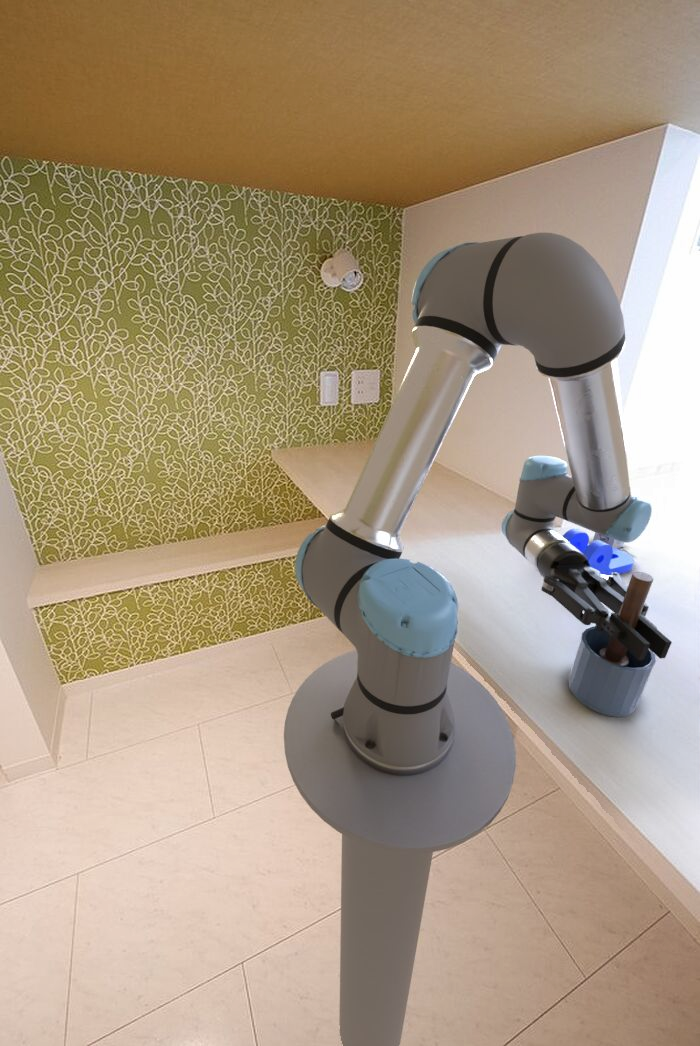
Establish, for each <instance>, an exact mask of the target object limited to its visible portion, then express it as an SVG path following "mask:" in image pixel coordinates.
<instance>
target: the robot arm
mask: <svg viewBox="0 0 700 1046" xmlns="http://www.w3.org/2000/svg"><path fill="white" fill-rule="evenodd" d="M411 305H413V310H412V311H411V314H412V319H413V322H414V327H413V329H412V331H411V336H412V341H413V342H414V346H415V353H414V355H412V356H413V357H412V359H411V361H410V364H409V366H408V367H407V370H406V372H405V375H404V377H403V379H402V381H401V383H400V386H399V388H398V389H397V391H396V395H395V396H394V399H393V401H392V404H391V405H390V408H389V410H388V412H387V415H386V417H385V419H384V421H383V423H382V425H381V428H380V430H379V433H378V435H377V437H376V439H375V441H374V443H373V446H372V447H371V450H370V452H369V454H368V457H367V459H366V461H365V464H364V466H363V468H362V470H361V472H360V474H359V477H358V479H357V481H356V483H355V486H354V488H353V490H352V491H351V492H352V493H351V495H350V497H349V500H348V501H347V504H346V506H345V508H344V509H342V510H340V511H339V510H338V511H337V512H335V513H332V514H330V516H329V518H328V520H327V523H326V524H324V525H321V526H319V527H317V528H316V529H315V531H314V532H310V533H309V534H308V535H307V536H306V537H305V538H304V539H303V541H302V543H301V544H300V546H299V548H298V551H297V552H296V556H295V563H294V573H295V578H296V580H297V583H298V585H299V587H300V588H301V590H302V591H303V592H304V594H305V595H306V598H307V599H308V601H309V602H310V603H311V604H312V605H313V606H314V607H317V608H318V610H319V611H320V612H321V613H322V614H323V615H324V616H325V617H326V618H327V619H328V620H329V621H330V622H331V623H332V624H333V626H334V627H335V628H337V630H338V631H339V632H341V633H342V635H343V636H344V637H345V638H346V639H347V640H348V641H349V642H350V643H351V644H352V645H353V647H354V648H355V650H357V653H358V665H357V677H356V680H355V682H354V684H353V686H352V688H351V690H350V692H349V694H348V696H347V698H346V701H345V704H344V707H343V708H341V709H339V710H336V711H334V712H332V713H331V717H332V719H333V720H334V719H336V718H338V717H341V716H343V731H344V735H345V738H346V741H347V743H348V745H349V746H350V748H351V749H352V751H353V752H354V753H355V754H356V756H357V757H358V758H360V759H361V760H362V761H363V762H364V763H366V764H367V765H369V766H370V767H372V768H374V769H376V770H379V771H381V772H384V773H387V774H392V775H399V776H409V775H417V774H420V773H424V772H426V771H429V770H431V769H433V768H434V767H436V766H437V765H438V764H440V763H441V762H442V761H443V760H444V759H445V757H446V756H447V755H448V753H449V751H450V749H451V746H452V743H453V738H454V731H455V721H454V714H453V711H452V707H451V702H450V699H449V696H448V692H447V682H448V676H449V671H450V665H451V662H452V658H453V652H454V648H455V641H456V637H457V633H458V624H459V619H458V609H459V605H458V598H457V594H456V591H455V589H454V587H453V586H452V583H450V581H449V580H448V579H447V578H446V577H445V576H444V574H442V573H441V572H439V571H438V570H436V569H435V568H433V567H431V566H430V565H428V564H425V563H422V562H421V561H417V562H415V563H413V562H412V561H411V560H410V559H407V558H401V556H402V554H403V552H404V549H405V547H404V545H403V542H402V538H401V531H402V529H403V527H404V525H405V523H406V520H407V519H408V516H409V514H410V512H411V510H412V508H413V506H414V504H415V502H416V499H417V498H418V496H419V493H420V491H421V489H422V487H423V485H424V483H425V481H426V478H427V477H428V474H429V472H430V470H431V467H432V465H433V463H434V461H435V459H436V457H437V455H438V453H439V451H440V449H441V447H442V445H443V443H444V440H445V438H446V437H447V434H448V432H449V430H450V427H451V425H452V424H453V421H454V419H455V417H456V415H457V413H458V411H459V408H460V407H461V405H462V402H463V400H464V399H465V396H466V394H467V392H468V390H469V387H470V385H471V384H472V381H473V380H474V377H475V376H476V375H477V374H480V373H482V372H484V371H488V370H489V369H490V368H491V367H492V366H493V364H494V362H495V360H496V358H497V356H498V355H499V351H500V349H501V347H502V346H503V345H504V346H519V347H523V348H524V349H526V350H528V351H529V352H530V353H531V355H532V356H533V358H534V362H535V366H536V369H537V371H538V373H539V374H541V375H542V376H543V377H545V378H548V381H549V385H550V390H551V394H552V398H553V402H554V406H555V410H556V415H557V419H558V420H557V421H558V422H559V423H558V424H559V429H560V432H561V436H562V441H563V444H564V448H565V453H566V457H567V461H568V463H567V462H566V461H565V460H562V459H561V458H559V457H555V456H548V455H534V456H530V457H528V458H527V459H525V461H524V463H523V467H522V471H521V474H520V477H519V483H518V488H517V495H516V500H515V505H514V509H511V510H510V511H509V512H508V513H507V514H506V516H504V518H503V519H502V521H501V532H502V535H503V536H504V537H505V538H506V540H507V542H508V543H509V545H511V546H512V547H513V548H514V549H515V550H516V551H517V552H519V554H521V555H522V556H523V557H524V558H525V560H526V561H527V562H528V563H529V564H530V565H531V566H532V567H533V568H534V569H535V570H536V571H537V572H538V573H539V574H540V576H541V577H542V578H543V581H542V583H541V584H542V585H541V588H540V589H541V591H542V592H543V593H545V594H547V595H549V596H551V597H552V598H553V599H555V601H556V602H558V604H560V605H561V606H562V607H563V608H564V609H566V610H567V612H569V613H570V614H571V615H572V616H574V617H575V619H577V620H578V621H579V622H580V623H582V624H583V625H585V626H590V625H591V624H595V625H594V626H595V629H596V630H597V631H603V630H604V629H605V631H606V632H608V634H610V636H611V637H613V638H614V639H616V640H619V641H620V642H621V643H622V644H623V645H624V646H625V647H626V648H627V649H628V650H629V651H630V652H631V653H632V654H633V655H634V656H635V657H636V658H637V659H638V660H644V658H645V655H646V653H647V650H648V648H649V649H650V650H651V651H652V652H653V653H654V654H655V656H657V658H658V659H666V657H667V655H668V653H669V650H670V648H671V645H672V643H673V642H672V641H671V640H670V639H669V637H667V636H666V635H665V634H663V633H662V632H661V631H660V630H658V628H657V626H656V625H655V624H654V623H653V622H652V621H651V620H649V619H648V618H647V617H646V616H647V614H648V610H649V605H648V604H647V603H646V602H645V603H644V606H643V609H642V611H641V614H640V617H639V619H638V622H637V625H636V627H635V630H634V629H633V628H632V627H631V626H630V625H629V624H628V623H627V622H626V621H625V620H624V619H622V618H621V617H620V616H619V615H618V614H619V611H620V608H621V605H622V603H623V600H624V597H625V594H626V591H627V588H628V585H627V584H626V583H625V582H624V581H623V580H622V577H621V574H618V573H616V572H612V573H611V575H609V576H608V575H602V574H601V573H600V572H599V571H598V570H596V569H594V568H592V567H590V565H589V562H588V560H587V558H586V556H585V555H584V554H583V553H582V552H580V551H579V550H578V549H577V548H576V547H574V546H573V545H572V544H571V543H570V542H569V541H567V540H566V539H565V538H564V537H562V536H563V535H561V534H560V533H559V532H558V531H556V530H555V529H554V528H553V527H554V523H555V520H556V518H558V519H562V520H564V521H566V522H568V523H571V524H574V525H576V526H579V527H580V528H583V529H586V530H588V531H591V532H592V533H593V532H594V533H595V532H596V533H598V534H601V535H603V536H604V537H609V538H612V539H615V540H618V541H621V542H624V544H625V543H627V544H629V543H632V542H634V541H635V540H637V539H638V538H639V537H640V536H641V535H642V534H643V532H644V531H645V530H646V528H647V526H648V525H649V522H650V520H651V516H652V511H653V510H652V505H651V503H650V502H649V501H648V500H646V499H644V498H641V497H640V496H639V495H632V493H631V486H630V475H629V466H628V456H627V455H628V454H627V447H626V445H627V444H626V435H625V427H624V416H623V406H622V396H621V395H622V394H621V386H620V375H619V367H618V366H619V365H618V357H619V356H620V355H621V354H622V352H623V351H624V349H625V347H626V330H625V320H624V314H623V311H622V307H621V305H620V301H619V297H618V296H617V294H616V291H615V289H614V287H613V285H612V283H611V281H610V279H609V277H608V275H607V273H606V272H605V271H604V269H603V267H602V266H601V265H600V264H599V263H598V261H597V260H596V259H595V258H594V257H593V256H592V255H591V254H590V253H589V251H587V250H586V249H585V248H584V247H583V246H582V245H580V244H579V243H578V242H576V241H574V240H573V239H571V238H570V237H567V236H564V235H562V234H557V233H553V232H534V233H529V234H525V235H520V236H515V237H508V238H500V239H496V240H487V241H483V242H482V241H481V242H477V241H473V242H471V241H468V242H463V243H460V244H457V245H455V246H453V247H449V248H446V249H443V250H442V251H440V252H438V253H436V254H435V255H433V256H432V257H431V259H429V260H428V261H427V263H426V264H425V265H424V266H423V268H422V269H421V271H420V273H419V274H418V276H417V279H416V281H415V283H414V287H413V290H412V295H411ZM568 466H569V470H570V473H571V476H570V475H568ZM608 609H609V610H610V611H612V612H611V613H610V611H609V610H608Z"/></svg>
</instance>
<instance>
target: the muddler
mask: <svg viewBox="0 0 700 1046" xmlns="http://www.w3.org/2000/svg"><path fill="white" fill-rule="evenodd" d="M653 582H654V577H653V576H652V575H650V574H648V573H646V572H642V571H634V572H632V574H631V576H630V580H629V582H628V585H627V586H628V588H627V591H626V594H625V597H624V600H623V603H622V605H621V608H620V611H619V614H618V615H619V616H620V617H621V618H622V619H624V620H625V621H626V622H627V623H628V624H629V625H630V626H631V627H632V628H633V629H634V630H635V627H636V625H637V622H638V619H639V617H640V614H641V611H642V609H643V606H644V603H646V601H647V598H648V595H649V593H650V590H651V587H652V584H653ZM626 651H627V648H626V647H625V646H624V645H623V644H622V643H621V642H620V641H619V640H616V639H614V638H613V637H610V640H609V643H608V646H607V648H603V649H601V650H600V652H599V655H598V656H600V657H601V658H603V659H605V660H607V661H609V662H611V663H613V664H616V665H620V666H623V667H627V665H628V663H629V660H628V658H627V656H626V655H625V654H626Z"/></svg>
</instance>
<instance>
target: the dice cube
mask: <svg viewBox="0 0 700 1046" xmlns="http://www.w3.org/2000/svg"><path fill="white" fill-rule="evenodd" d="M597 540H600V541H602V542H604V543H606V544H608V545H610V546H611V547H612V548H615V549H620V548H623V547H624V544H625V543H624V542H621V541H618V540H615V539H612V538H609V537H604V536H603V535H601V534H598V533H596V532H594V536H593V539H592V542H594V541H597Z"/></svg>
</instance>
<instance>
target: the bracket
mask: <svg viewBox="0 0 700 1046" xmlns="http://www.w3.org/2000/svg"><path fill="white" fill-rule="evenodd" d="M561 536H562V537H564V538H565V539H566V540H567V541H569V542H570V543H571V544H572V545H573V546H574V547H576V548H577V549H578V550H579V551H580V552H582V553H583V554H584V555H585V556H586V558H587V560H588V562H589V565H590V567H592V568H594V569H596V570H598V571H599V572H600V573H601V574H602V575H608V576H609V575H611V573H612V572H616V573H618V574H619V575H621V574H624V573H628V572H630V571H631V570H632V569H633V566H634V563H635V559H634V557H633V556H632V555H631V554H630V553H628V552H626V551H624V550H622V549H619V548H617V549H615V548H612V547H611V546H610V545H608V544H606V543H604V542H602V541H600V540H597V541H594V542H593V541H592V542H590V537H589V535H588V534H587V532H585V531H583V530H581V529H579V528H570V529H568V530H567V531H566V532H565V533H564V534H563V535H561ZM589 542H590V543H589Z"/></svg>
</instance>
